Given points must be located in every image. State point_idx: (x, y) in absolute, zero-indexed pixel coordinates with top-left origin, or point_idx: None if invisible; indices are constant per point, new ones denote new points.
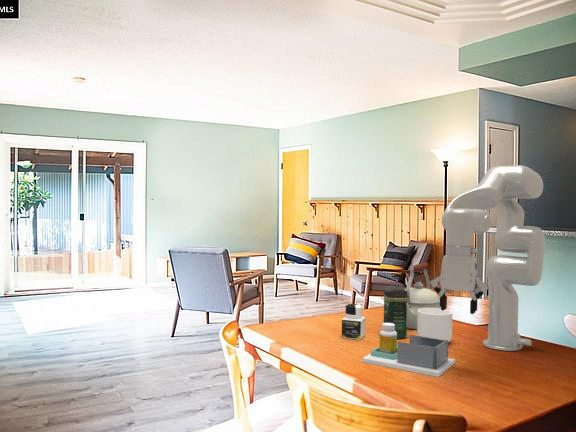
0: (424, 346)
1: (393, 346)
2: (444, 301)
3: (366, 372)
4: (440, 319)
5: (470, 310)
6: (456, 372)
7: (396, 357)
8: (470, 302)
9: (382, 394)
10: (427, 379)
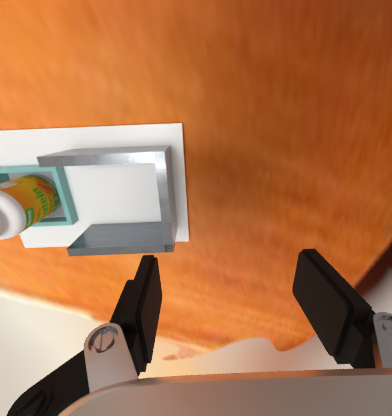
0: (140, 250)
1: (45, 211)
2: (153, 327)
3: (80, 284)
4: None
5: (300, 304)
6: (207, 190)
7: (73, 209)
8: (324, 345)
9: (155, 337)
10: (177, 257)
